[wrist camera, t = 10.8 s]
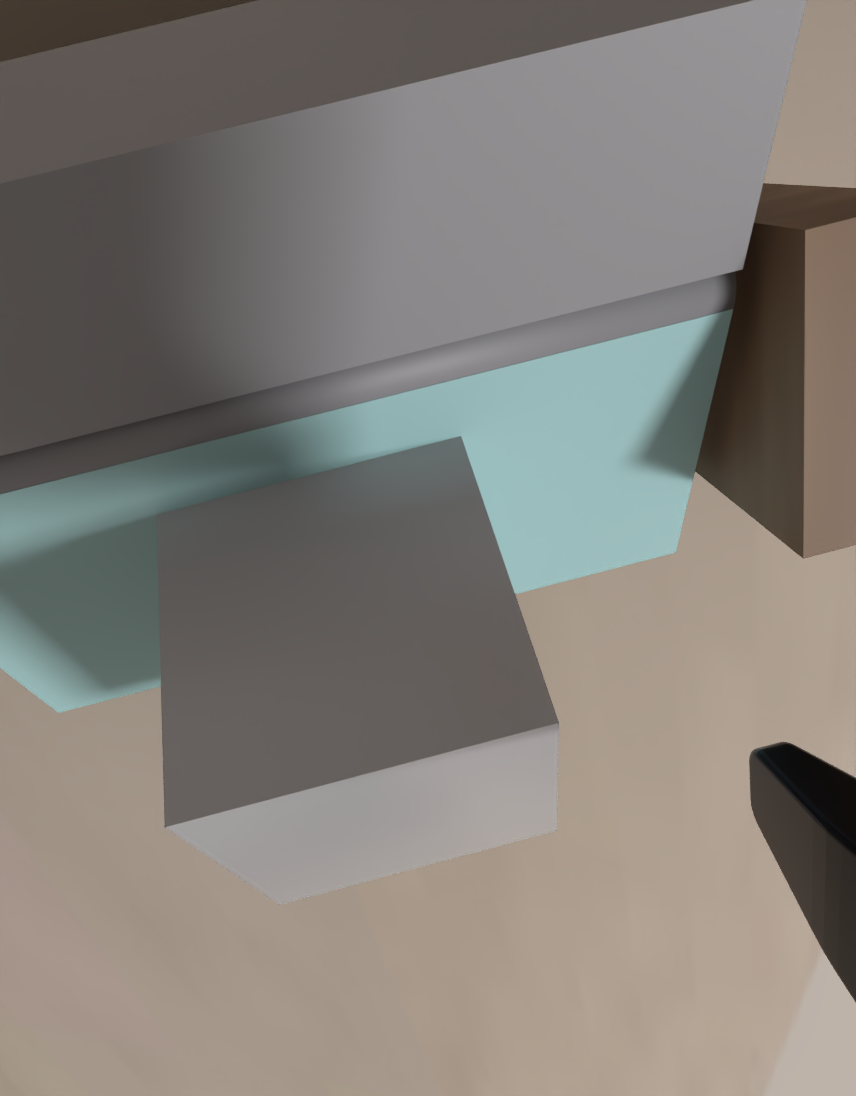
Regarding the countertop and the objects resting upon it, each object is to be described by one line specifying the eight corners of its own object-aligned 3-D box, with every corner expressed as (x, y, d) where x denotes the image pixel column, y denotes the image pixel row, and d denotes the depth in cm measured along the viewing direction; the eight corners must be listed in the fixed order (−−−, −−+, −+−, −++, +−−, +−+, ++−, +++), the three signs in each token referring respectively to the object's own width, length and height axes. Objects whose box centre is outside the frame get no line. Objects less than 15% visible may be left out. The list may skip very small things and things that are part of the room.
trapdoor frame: (705, 172, 18) (994, 182, 10) (715, 383, 20) (958, 518, 13) (-155, 385, 18) (-506, 558, 10) (-45, 578, 20) (-263, 837, 12)
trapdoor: (693, -105, 10) (809, -14, 8) (625, 452, 19) (676, 552, 17) (-372, 151, 10) (-479, 300, 8) (64, 595, 18) (58, 712, 17)
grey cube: (461, 436, 13) (558, 722, 10) (483, 595, 17) (556, 830, 14) (156, 514, 13) (164, 827, 10) (253, 655, 17) (279, 904, 14)
